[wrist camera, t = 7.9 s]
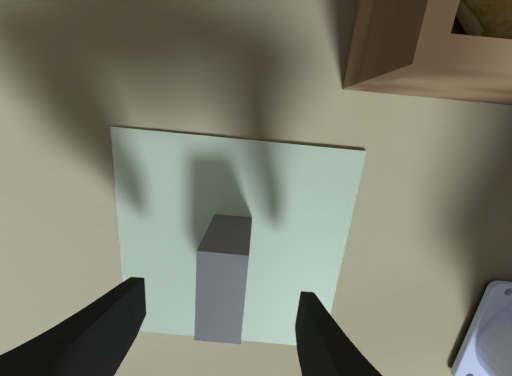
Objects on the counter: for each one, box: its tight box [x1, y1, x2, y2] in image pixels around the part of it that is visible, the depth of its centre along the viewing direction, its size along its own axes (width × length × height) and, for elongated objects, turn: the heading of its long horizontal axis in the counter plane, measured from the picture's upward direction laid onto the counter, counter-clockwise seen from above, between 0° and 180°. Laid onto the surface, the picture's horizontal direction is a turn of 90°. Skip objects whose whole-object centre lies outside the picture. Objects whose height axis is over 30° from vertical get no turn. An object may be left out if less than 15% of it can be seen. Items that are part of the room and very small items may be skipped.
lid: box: [110, 127, 367, 345], centre depth 13 cm, size 14×14×5 cm
